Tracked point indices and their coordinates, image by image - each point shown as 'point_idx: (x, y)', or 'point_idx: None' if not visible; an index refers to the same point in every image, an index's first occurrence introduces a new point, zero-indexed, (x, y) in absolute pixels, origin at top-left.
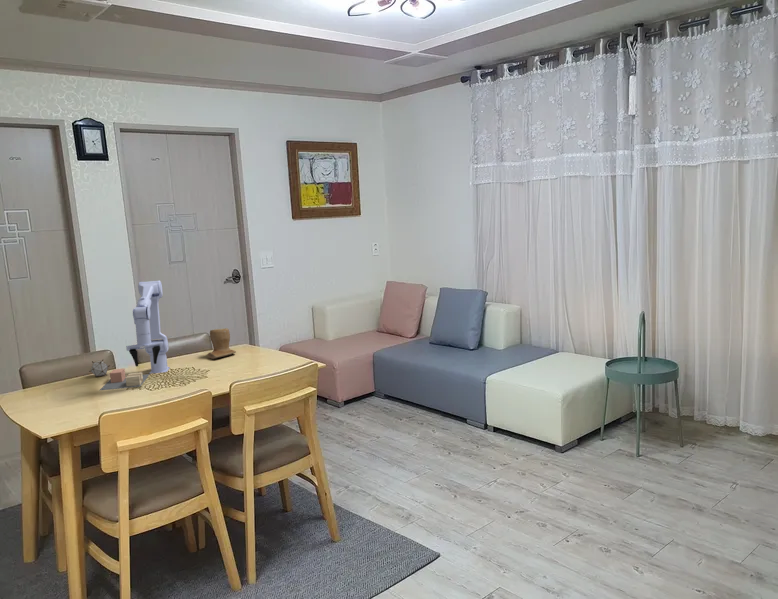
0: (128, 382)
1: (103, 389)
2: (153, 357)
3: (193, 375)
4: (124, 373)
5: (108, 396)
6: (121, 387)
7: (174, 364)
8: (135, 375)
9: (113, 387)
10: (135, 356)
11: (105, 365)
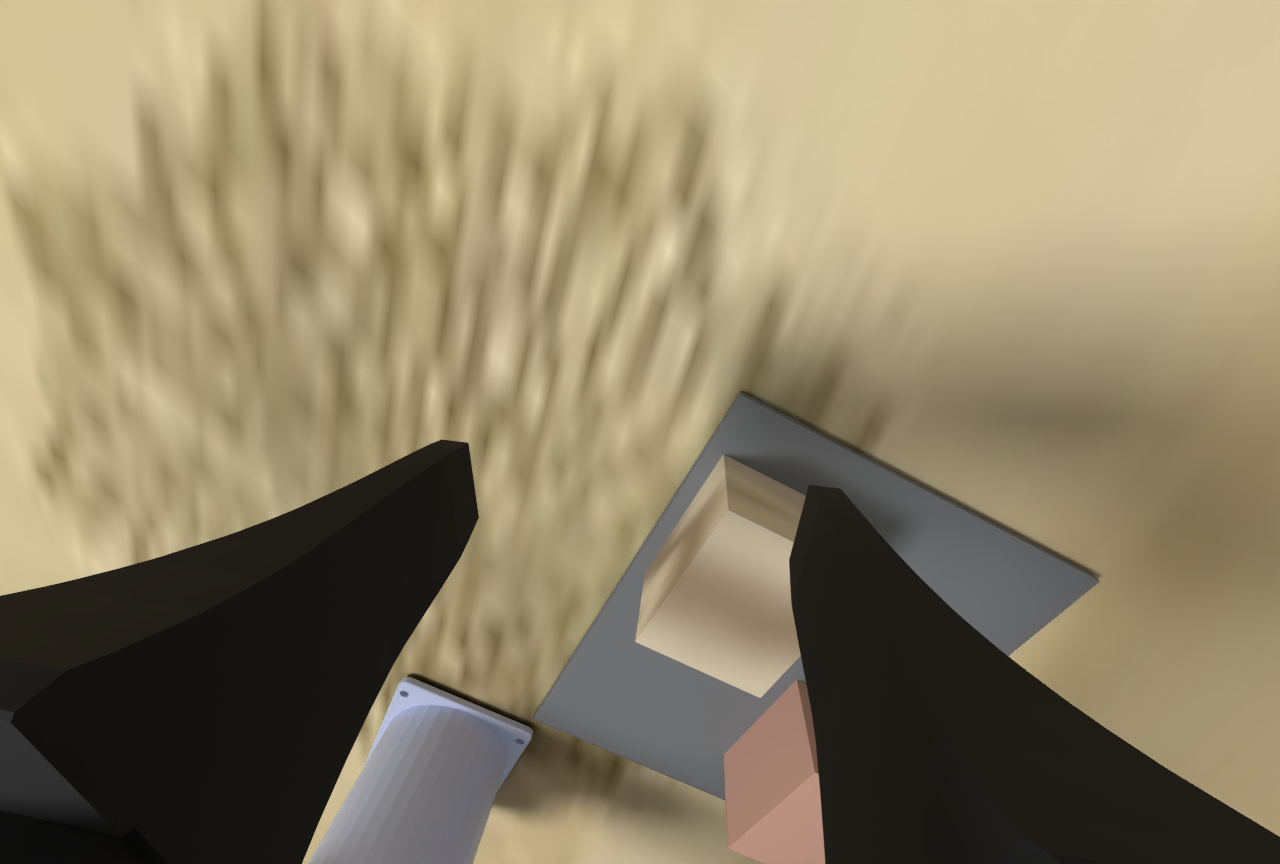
0: None
1: (1052, 580)
2: (415, 622)
3: (182, 414)
4: (738, 790)
5: (1191, 288)
6: (898, 513)
7: (330, 807)
8: (743, 578)
9: (948, 573)
10: (962, 664)
11: None
